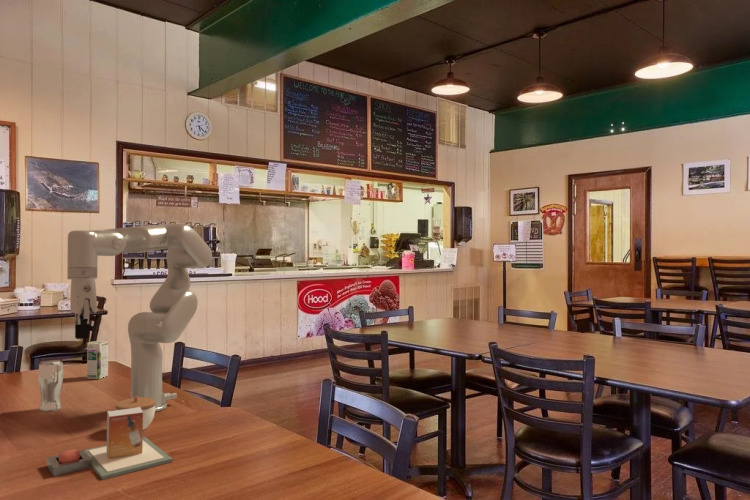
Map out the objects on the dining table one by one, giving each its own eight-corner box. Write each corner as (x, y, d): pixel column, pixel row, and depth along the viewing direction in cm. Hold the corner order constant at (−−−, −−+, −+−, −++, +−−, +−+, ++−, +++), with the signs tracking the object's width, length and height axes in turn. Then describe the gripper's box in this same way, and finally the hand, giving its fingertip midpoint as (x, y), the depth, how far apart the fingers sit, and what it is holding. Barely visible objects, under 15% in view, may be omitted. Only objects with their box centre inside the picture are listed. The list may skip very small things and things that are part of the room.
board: (144, 439, 148) (145, 436, 148) (172, 461, 133) (172, 457, 133) (80, 453, 137) (80, 450, 137) (102, 479, 122) (102, 475, 122)
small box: (107, 459, 131) (108, 416, 131) (106, 451, 136) (106, 410, 136) (143, 453, 135) (143, 411, 135) (140, 446, 140) (140, 406, 140)
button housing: (83, 457, 135) (83, 449, 135) (91, 467, 129) (91, 459, 129) (46, 465, 129) (46, 457, 129) (53, 476, 123) (53, 467, 123)
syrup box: (86, 379, 214) (86, 342, 214) (96, 375, 220) (96, 340, 220) (99, 379, 213) (99, 343, 213) (108, 376, 219) (109, 340, 219)
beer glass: (33, 410, 172) (33, 364, 172) (53, 404, 179) (53, 360, 179) (48, 413, 170) (48, 366, 170) (67, 407, 176) (68, 362, 176)
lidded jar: (146, 420, 164) (147, 389, 164) (161, 428, 156) (161, 397, 156) (109, 428, 157) (110, 396, 157) (123, 437, 149) (123, 404, 149)
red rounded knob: (77, 459, 132) (77, 448, 132) (81, 465, 129) (81, 453, 129) (56, 464, 129) (56, 452, 129) (60, 469, 126) (61, 458, 126)
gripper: (104, 274, 149) (103, 340, 149) (90, 272, 160) (89, 333, 160) (74, 275, 144) (73, 343, 144) (61, 273, 155) (61, 336, 155)
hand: (82, 338), depth 152 cm, fingers closed
